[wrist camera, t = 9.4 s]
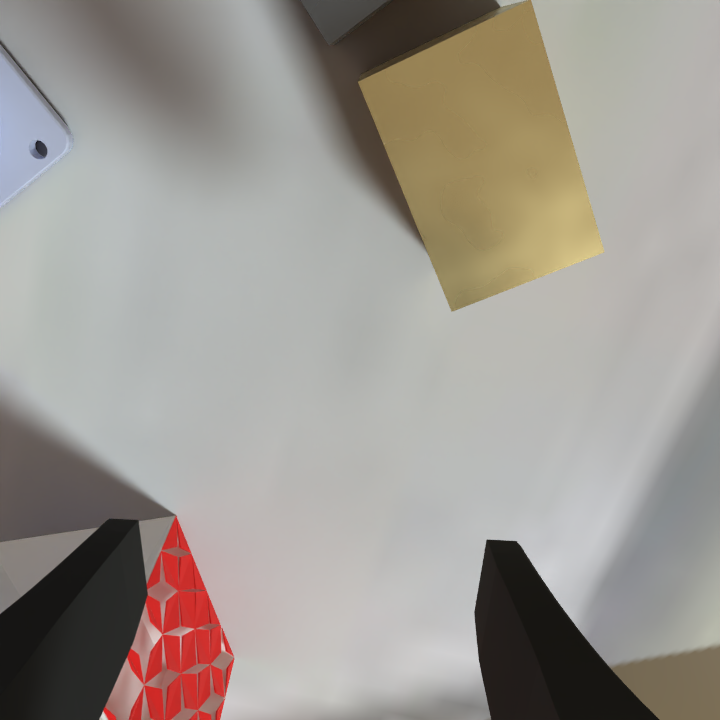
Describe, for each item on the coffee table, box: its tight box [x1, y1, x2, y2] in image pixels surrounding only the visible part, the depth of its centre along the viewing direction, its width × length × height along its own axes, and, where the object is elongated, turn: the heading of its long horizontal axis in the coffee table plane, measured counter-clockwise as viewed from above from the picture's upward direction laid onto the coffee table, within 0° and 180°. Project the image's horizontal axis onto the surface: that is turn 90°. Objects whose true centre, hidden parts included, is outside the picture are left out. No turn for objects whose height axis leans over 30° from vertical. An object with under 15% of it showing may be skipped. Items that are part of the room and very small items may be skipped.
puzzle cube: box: [0, 515, 234, 720], centre depth 24 cm, size 8×8×8 cm
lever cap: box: [358, 0, 604, 311], centre depth 17 cm, size 4×6×4 cm, turn 24°
